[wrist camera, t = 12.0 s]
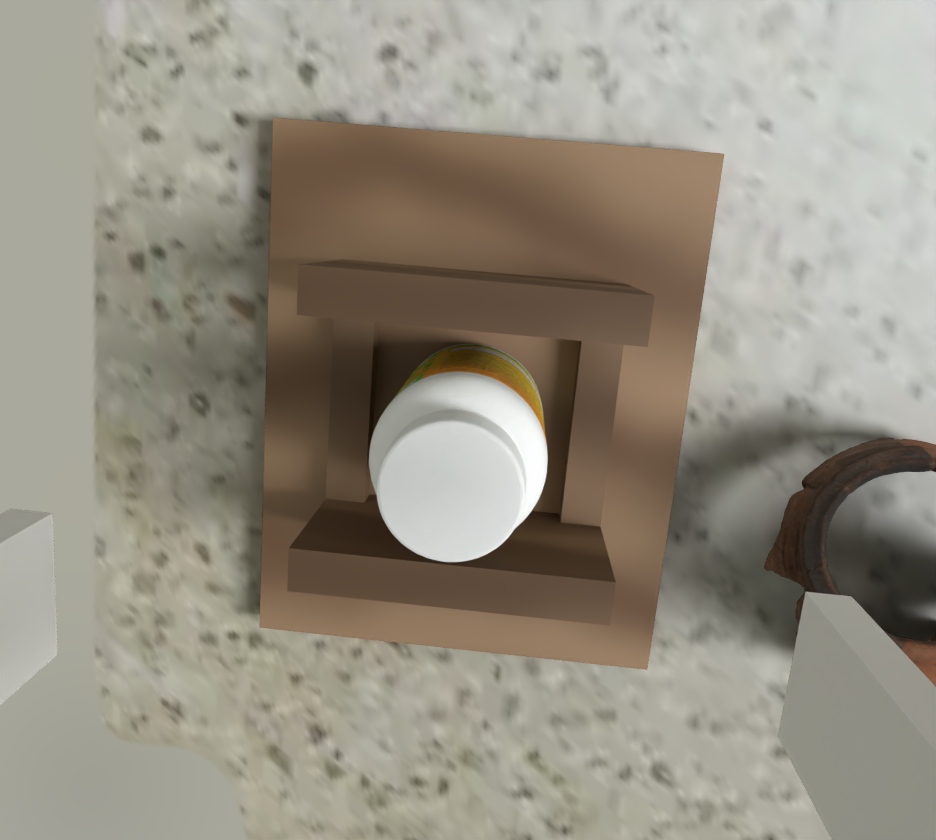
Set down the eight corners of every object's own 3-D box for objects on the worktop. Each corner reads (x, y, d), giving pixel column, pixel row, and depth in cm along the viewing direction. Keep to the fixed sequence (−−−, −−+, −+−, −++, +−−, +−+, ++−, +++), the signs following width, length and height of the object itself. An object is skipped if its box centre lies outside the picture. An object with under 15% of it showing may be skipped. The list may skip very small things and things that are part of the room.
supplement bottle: (424, 322, 30) (379, 365, 20) (561, 367, 30) (581, 430, 20) (384, 454, 31) (324, 552, 22) (516, 496, 31) (514, 613, 22)
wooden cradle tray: (643, 656, 33) (675, 764, 26) (267, 616, 34) (203, 711, 27) (717, 156, 29) (778, 131, 22) (280, 121, 29) (208, 86, 23)
